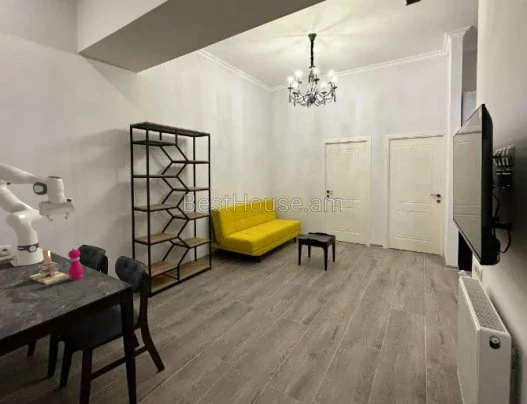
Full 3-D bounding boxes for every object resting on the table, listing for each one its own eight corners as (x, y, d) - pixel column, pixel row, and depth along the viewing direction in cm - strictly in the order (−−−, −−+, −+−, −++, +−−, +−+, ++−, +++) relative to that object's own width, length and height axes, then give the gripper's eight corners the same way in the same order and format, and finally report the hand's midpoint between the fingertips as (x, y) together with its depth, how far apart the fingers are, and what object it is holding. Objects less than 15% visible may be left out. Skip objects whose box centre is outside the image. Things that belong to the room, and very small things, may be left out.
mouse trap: (30, 278, 167) (28, 264, 166) (52, 271, 178) (50, 258, 177) (46, 284, 158) (44, 269, 157) (68, 277, 169) (67, 263, 167)
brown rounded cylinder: (47, 276, 165) (44, 252, 163) (44, 275, 167) (41, 251, 165) (53, 274, 168) (51, 250, 166) (50, 273, 170) (48, 249, 168)
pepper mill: (76, 281, 162) (73, 249, 160) (66, 280, 163) (63, 248, 161) (86, 276, 169) (83, 246, 167) (76, 275, 170) (73, 245, 168)
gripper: (40, 202, 169) (42, 223, 171) (75, 199, 187) (77, 218, 189) (35, 201, 172) (38, 222, 174) (70, 198, 190) (72, 217, 192)
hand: (58, 220), depth 181 cm, fingers open, 8 cm apart
